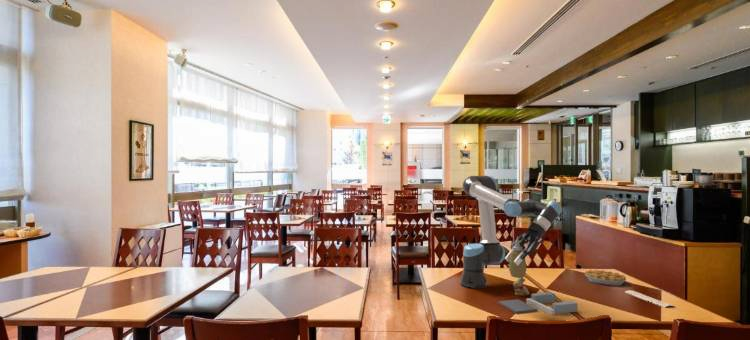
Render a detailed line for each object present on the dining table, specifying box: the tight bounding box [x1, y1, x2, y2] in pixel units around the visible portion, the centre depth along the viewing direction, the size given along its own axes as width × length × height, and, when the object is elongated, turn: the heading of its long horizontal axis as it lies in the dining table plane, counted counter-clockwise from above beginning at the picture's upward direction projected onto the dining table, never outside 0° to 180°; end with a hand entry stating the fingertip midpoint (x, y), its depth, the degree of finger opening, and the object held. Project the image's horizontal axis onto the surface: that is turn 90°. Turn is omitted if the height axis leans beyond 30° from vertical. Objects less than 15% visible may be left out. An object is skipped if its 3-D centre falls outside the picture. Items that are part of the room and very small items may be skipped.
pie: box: [584, 269, 627, 286], centre depth 224 cm, size 22×22×5 cm
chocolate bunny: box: [512, 277, 530, 297], centre depth 198 cm, size 6×8×10 cm
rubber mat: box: [497, 298, 539, 315], centre depth 178 cm, size 14×12×1 cm
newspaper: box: [624, 289, 676, 309], centre depth 190 cm, size 24×7×2 cm, turn 9°
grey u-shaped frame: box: [525, 291, 578, 316], centre depth 179 cm, size 17×15×4 cm
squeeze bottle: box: [508, 239, 527, 279], centre depth 178 cm, size 8×8×18 cm
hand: (511, 261), depth 177 cm, fingers closed on squeeze bottle, 6 cm apart
